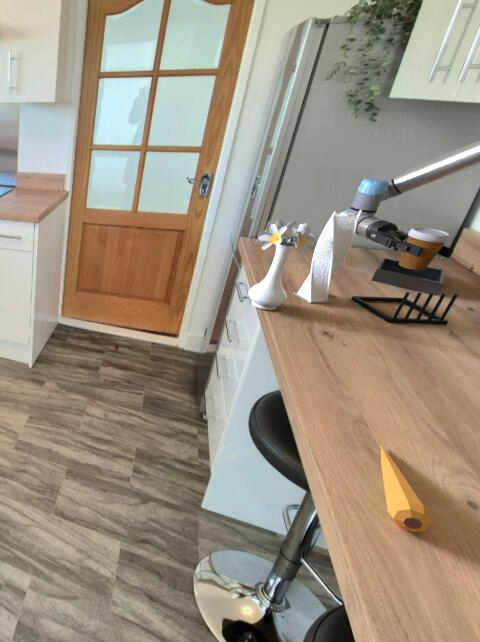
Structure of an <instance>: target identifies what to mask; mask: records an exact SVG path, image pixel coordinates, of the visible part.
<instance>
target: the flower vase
mask: <svg viewBox="0 0 480 642" xmlns="http://www.w3.org/2000/svg"><path fill="white" fill-rule="evenodd" d="M285 223H286V222H285V221H284V219H280V218H279V219H277V220H276V221H275V223H271V220H268V222H267V223H266V226H265V229H264V230H261V231H259V232H258V233H257V235H256V237H257V238H258V240H257V241H256V242H254V243H253V246H254V247H255V246H256V245H258V244H260V243H262V242H265V243H264V244H263V245H262V246H261V250H262V251H264V250H267V249H268V248H270V247H271V246H273V245H275V254H274V256H273V259H272V263H271V265H270V267H269V270H268V272H267V274H266V276H265V277H264V278H263V279H262V280H261V281H259V282H258V283H255V284H254V285H253V286H251V287H250V288H249V290H248V293H247V295H248V297H249V299H250V301H251V305H252V306H253V307H255V308H257V309H258V310H259V309H260V310H262V311H263V310H264V311H275V310H276V309H277V307H281V306H283V305H284V304H285V303H286V302H287V298H288V296H287V292H286V291H285V289H284V288H283V284H282V278H283V277H282V276H283V273H284V269H285V267H286V263H287V260H288V259H289V257H290V255H291V254H292V251H293V250H294V249H295V248H296V250H297V252H303V254H304V255H305V256H306V257H310V252H311V251H310V250H313V248H314V247H313V246H316V245H317V240H316V239H317V236H316V234H314V233H311V227H310V226H309V225H308V223H306V222H304V223H300V224H298V228H295V226H296V225H297V223H298V221H297V220H292V221H290V222H288V223H287V224H285ZM282 238H283V239H282Z"/></svg>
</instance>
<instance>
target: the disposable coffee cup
mask: <svg viewBox="0 0 480 642" xmlns="http://www.w3.org/2000/svg"><path fill="white" fill-rule="evenodd" d="M407 233H408V239H407V241H406V242H408V243H411V244H413V245H416V246H418V247H421V248H423V251H422V252H421V254H420V256H419V257H416V256H414V255H411V254H409V253H407V252H404V251H402V253H401V257H400V260H399V261H400V263H399V265H400V266H402V267H405V268H408V269H412V270H425V269H426V268H427V267H429V266H430V264H431V263H432V261H433V260H434V259H435V257H436V256H437V255H438V254H437V253H438V252H439V251H440V249H441V248H442V247H443V246H445V244H446V243H447V242H448V241H450V240H451V238H450V236H451V234H450V233H449V232H447V231H444V230H440V229H435V228H430V227H423V226H422V227H421V226H414V227H412V228H411V229H410V230H409V231H407Z"/></svg>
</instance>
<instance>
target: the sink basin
mask: <svg viewBox="0 0 480 642" xmlns="http://www.w3.org/2000/svg"><path fill="white" fill-rule="evenodd" d="M399 263H400V260H397V259H391V258H387V257H382V258H381V260H380V262H379V263H378V265H377V268H376V270H375V272H374V274H373V276H372V278H371V282H376V283H379V284H383V285H384V284H385V285H388V286H393V287H396V288H401V289H407V290H410V291H415V292H417V293H419V292H420V293H422V294H428V295H429V294H430V293H434V295H433V296H437V295H438V293H439V291H440V289H441V287H442V286H443V284H444V278H445V269H442V268H436V267H431V266H427V268H426V269H425V270H412V269H408V268H405V267H402V266H400V265H399Z"/></svg>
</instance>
